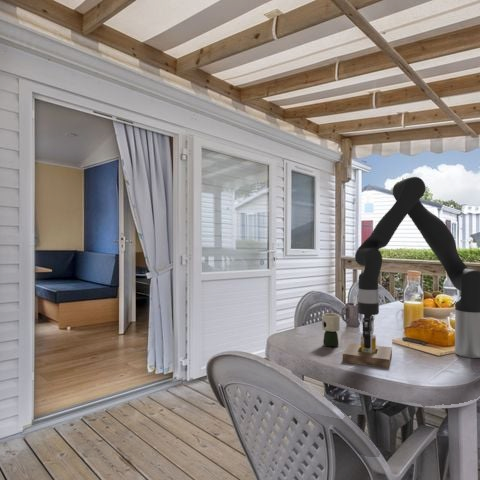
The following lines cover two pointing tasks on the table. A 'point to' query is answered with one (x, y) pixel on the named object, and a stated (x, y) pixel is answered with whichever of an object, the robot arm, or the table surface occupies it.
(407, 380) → the table surface
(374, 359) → the walnut bottle holder
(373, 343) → the supplement bottle
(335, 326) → the character mug
